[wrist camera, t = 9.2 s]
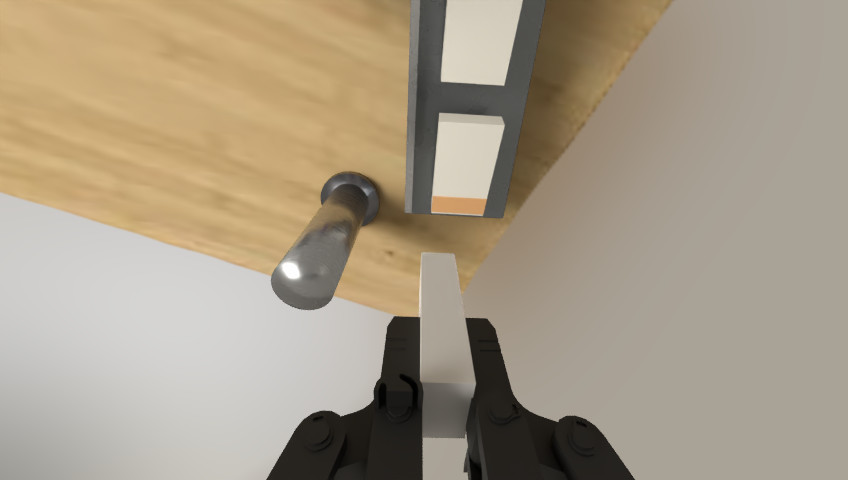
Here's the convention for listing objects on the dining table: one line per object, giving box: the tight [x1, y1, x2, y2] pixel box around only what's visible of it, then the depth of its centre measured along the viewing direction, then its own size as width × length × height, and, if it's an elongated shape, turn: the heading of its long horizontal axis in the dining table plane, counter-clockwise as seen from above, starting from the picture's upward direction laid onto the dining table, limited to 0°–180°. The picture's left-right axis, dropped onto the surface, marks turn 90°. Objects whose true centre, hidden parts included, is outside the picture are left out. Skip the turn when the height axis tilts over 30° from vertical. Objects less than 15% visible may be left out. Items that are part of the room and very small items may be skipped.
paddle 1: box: [441, 0, 523, 86], centre depth 19 cm, size 8×4×1 cm, turn 176°
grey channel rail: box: [405, 0, 546, 218], centre depth 25 cm, size 20×9×6 cm, turn 177°
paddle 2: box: [431, 113, 505, 216], centre depth 24 cm, size 8×4×2 cm, turn 176°
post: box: [271, 172, 380, 310], centre depth 27 cm, size 6×6×15 cm
